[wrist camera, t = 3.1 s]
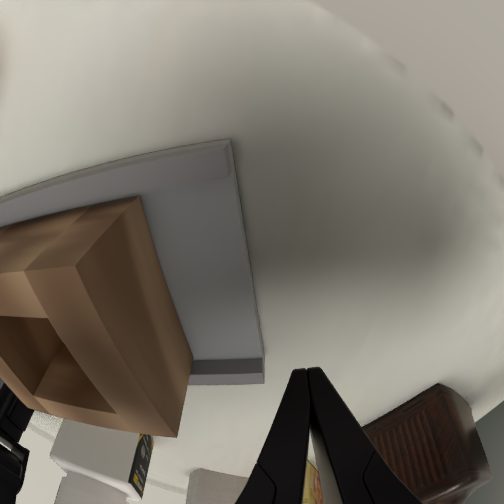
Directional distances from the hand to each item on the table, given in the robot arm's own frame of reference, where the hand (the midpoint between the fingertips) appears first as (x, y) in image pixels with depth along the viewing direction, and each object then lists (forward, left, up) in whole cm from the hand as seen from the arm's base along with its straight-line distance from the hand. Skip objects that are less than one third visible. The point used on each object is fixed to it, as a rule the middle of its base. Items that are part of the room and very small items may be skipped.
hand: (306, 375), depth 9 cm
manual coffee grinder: (+13, -18, -6) cm, 23 cm away
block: (-11, 0, -5) cm, 12 cm away
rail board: (-12, 0, -6) cm, 14 cm away
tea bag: (-10, -31, -6) cm, 33 cm away
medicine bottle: (-17, -16, -6) cm, 24 cm away
